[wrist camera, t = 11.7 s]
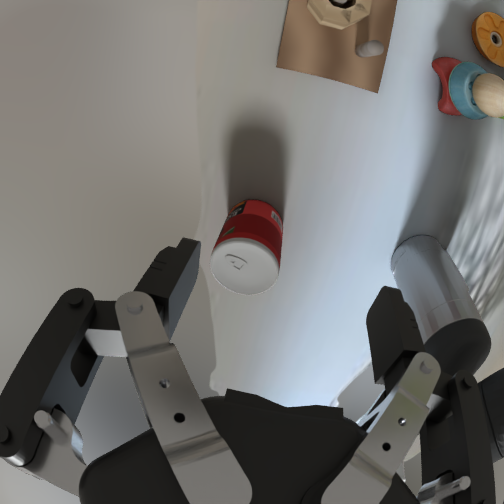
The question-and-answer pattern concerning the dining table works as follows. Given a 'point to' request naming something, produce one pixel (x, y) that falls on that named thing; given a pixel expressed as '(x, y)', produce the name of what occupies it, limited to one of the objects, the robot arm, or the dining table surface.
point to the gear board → (338, 44)
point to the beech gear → (339, 12)
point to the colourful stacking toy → (475, 74)
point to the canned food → (248, 249)
